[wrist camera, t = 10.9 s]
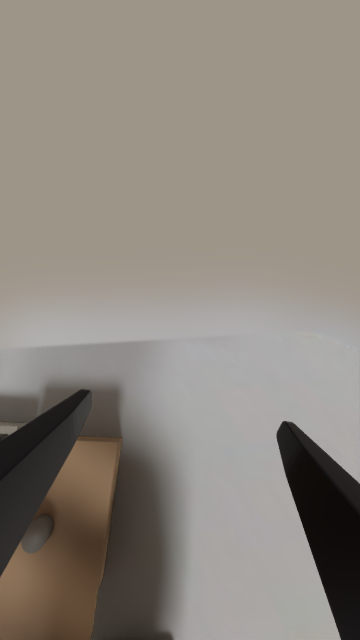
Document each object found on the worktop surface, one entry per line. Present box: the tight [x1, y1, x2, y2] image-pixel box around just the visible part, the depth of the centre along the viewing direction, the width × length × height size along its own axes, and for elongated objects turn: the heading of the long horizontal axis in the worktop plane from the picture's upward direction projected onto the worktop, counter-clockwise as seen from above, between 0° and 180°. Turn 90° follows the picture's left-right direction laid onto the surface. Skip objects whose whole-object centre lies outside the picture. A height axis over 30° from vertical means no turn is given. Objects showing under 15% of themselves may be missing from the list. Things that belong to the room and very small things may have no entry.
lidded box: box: [0, 436, 122, 640], centre depth 15 cm, size 11×9×5 cm
